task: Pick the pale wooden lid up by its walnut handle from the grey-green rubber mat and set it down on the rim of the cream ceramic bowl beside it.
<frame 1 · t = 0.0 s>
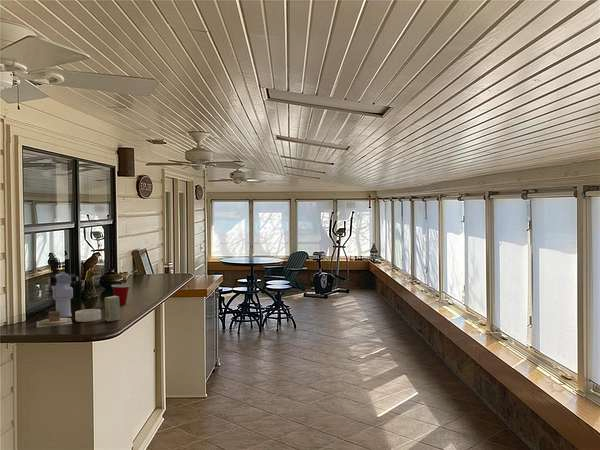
hand: (64, 280, 267), 22 cm above the table, tool horizontal, fingers open, 7 cm apart
plastic cup: (121, 304, 319), on the table
skincare box: (112, 320, 271), on the table
bowl: (88, 319, 273), on the table
mat: (54, 323, 266), on the table
lid: (54, 322, 266), resting on mat
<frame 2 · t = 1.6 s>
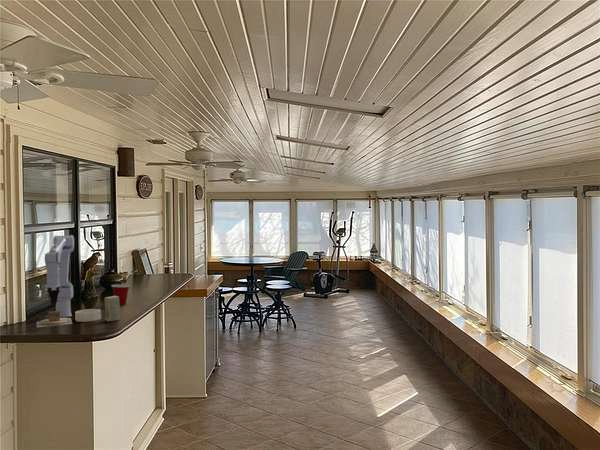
hand: (53, 302, 266), 10 cm above the table, tool pointing down, fingers open, 7 cm apart
nothing on the table moved.
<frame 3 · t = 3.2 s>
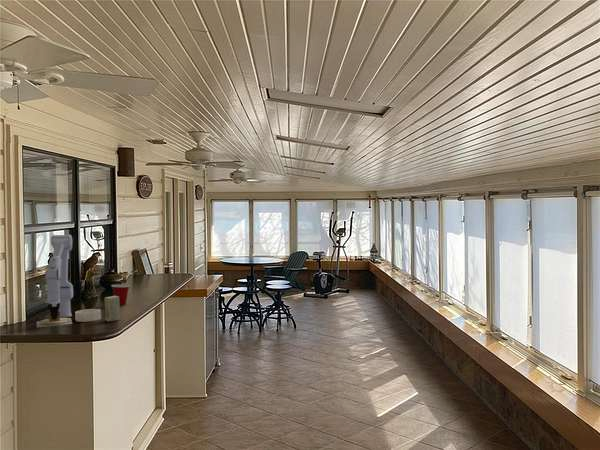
hand: (54, 318, 266), 2 cm above the table, tool pointing down, fingers closed on lid, 3 cm apart
lid: (54, 322, 266), resting on mat, touching gripper
everything else where it was.
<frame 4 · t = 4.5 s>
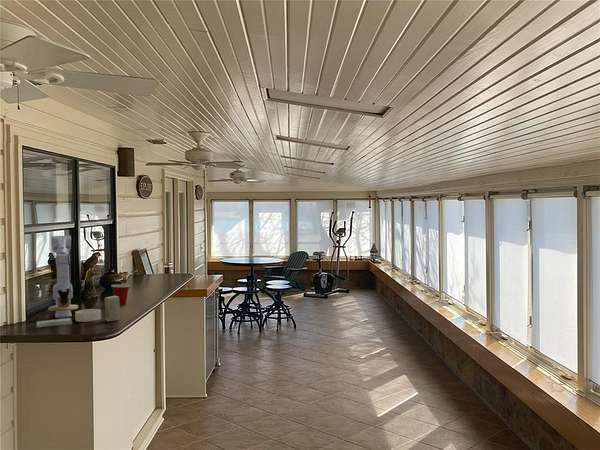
hand: (64, 303, 268), 9 cm above the table, tool pointing down, fingers closed on lid, 3 cm apart
lid: (63, 308, 268), point 7 cm above the table, touching gripper
everything else where it was.
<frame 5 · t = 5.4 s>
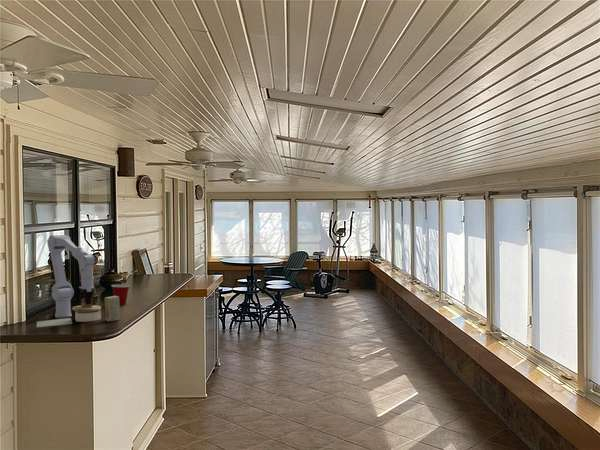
hand: (87, 303, 273), 8 cm above the table, tool pointing down, fingers closed on lid, 3 cm apart
lid: (86, 309, 273), point 6 cm above the table, touching gripper
everything else where it was.
when the fingers open (8 cm above the table, at t = 5.8 s): lid stays where it is, resting on bowl.
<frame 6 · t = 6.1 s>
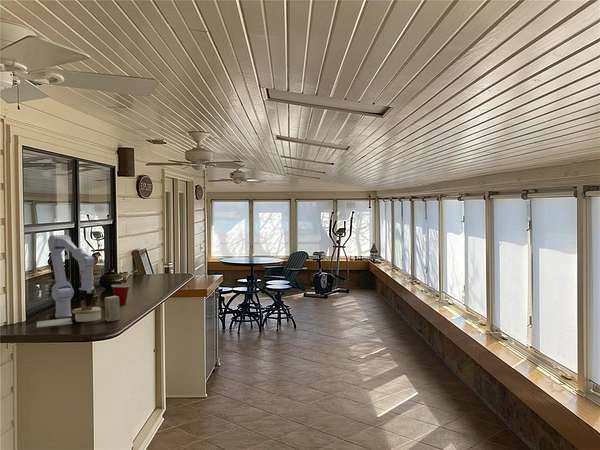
hand: (87, 305, 273), 8 cm above the table, tool pointing down, fingers open, 5 cm apart
lid: (86, 311, 273), point 4 cm above the table, touching bowl
everything else where it was.
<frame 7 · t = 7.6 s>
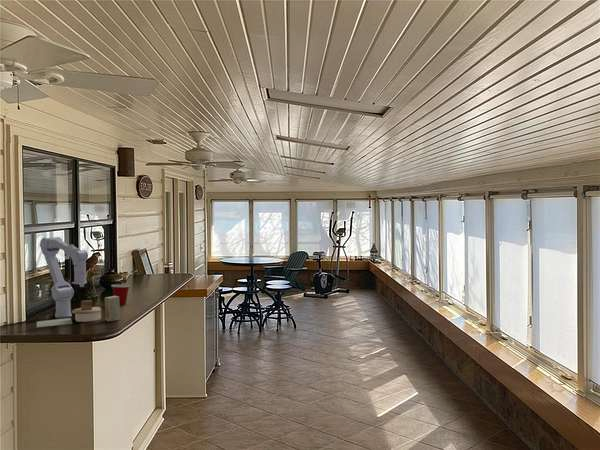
hand: (80, 299, 276), 10 cm above the table, tool pointing down, fingers open, 7 cm apart
nothing on the table moved.
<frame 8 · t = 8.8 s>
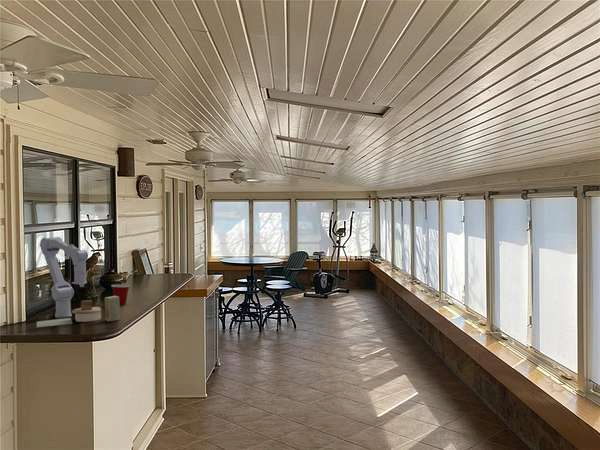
hand: (80, 299, 276), 10 cm above the table, tool pointing down, fingers open, 7 cm apart
nothing on the table moved.
at the end: lid 0.6 cm off-centre on the bowl, point 4.5 cm above the bowl's base; lid tilted 0°; the gripper is holding nothing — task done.
